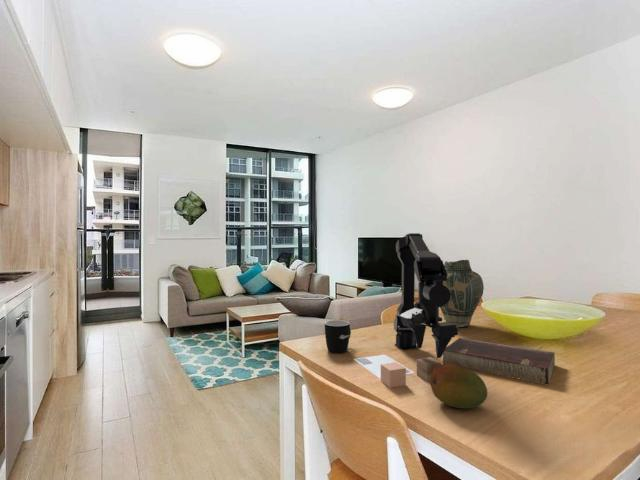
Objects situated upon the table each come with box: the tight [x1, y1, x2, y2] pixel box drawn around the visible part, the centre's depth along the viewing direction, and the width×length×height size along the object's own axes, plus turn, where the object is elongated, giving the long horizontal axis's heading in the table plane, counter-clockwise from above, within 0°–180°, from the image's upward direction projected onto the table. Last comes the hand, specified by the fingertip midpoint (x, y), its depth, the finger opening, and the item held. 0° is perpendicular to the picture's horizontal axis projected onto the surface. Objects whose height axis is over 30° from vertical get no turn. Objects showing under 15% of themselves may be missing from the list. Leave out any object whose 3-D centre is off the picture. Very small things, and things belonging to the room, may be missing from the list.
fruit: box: [429, 363, 488, 409], centre depth 91 cm, size 12×12×10 cm
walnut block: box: [416, 356, 443, 382], centre depth 108 cm, size 5×5×5 cm
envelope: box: [353, 354, 415, 380], centre depth 117 cm, size 12×18×1 cm, turn 20°
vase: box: [439, 259, 485, 328], centre depth 168 cm, size 22×22×30 cm
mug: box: [324, 319, 352, 354], centre depth 134 cm, size 12×9×10 cm
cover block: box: [380, 361, 407, 389], centre depth 104 cm, size 5×5×5 cm
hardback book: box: [442, 337, 556, 385], centre depth 118 cm, size 29×19×5 cm, turn 53°
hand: (428, 352), depth 108 cm, fingers open, 9 cm apart
